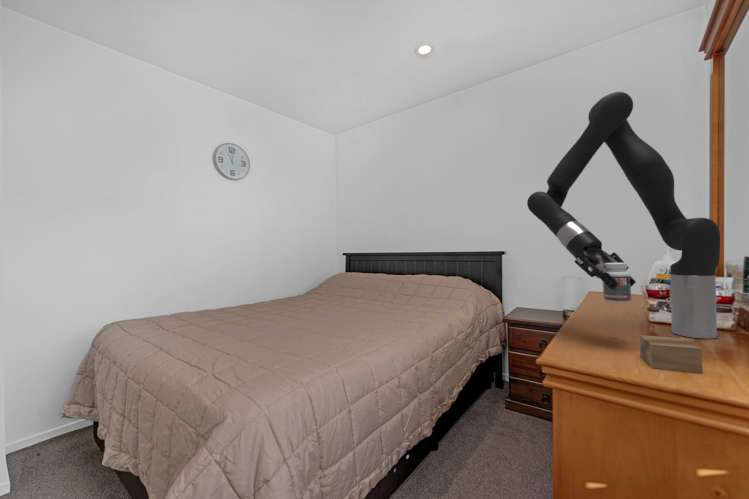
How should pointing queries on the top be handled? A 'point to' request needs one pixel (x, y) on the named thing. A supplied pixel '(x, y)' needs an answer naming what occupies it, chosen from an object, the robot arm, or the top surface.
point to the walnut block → (671, 353)
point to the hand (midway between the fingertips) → (623, 285)
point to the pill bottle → (623, 289)
